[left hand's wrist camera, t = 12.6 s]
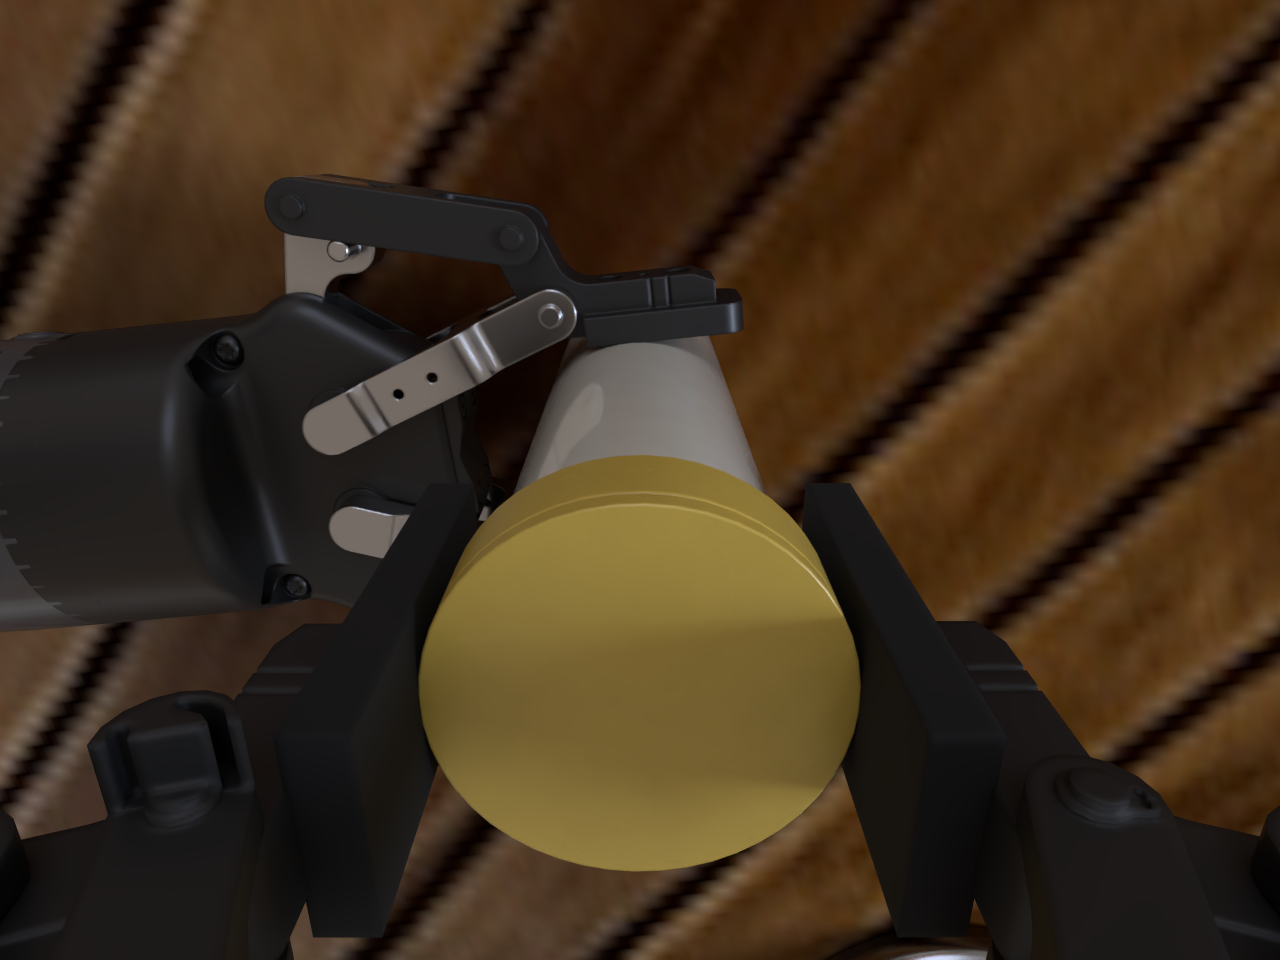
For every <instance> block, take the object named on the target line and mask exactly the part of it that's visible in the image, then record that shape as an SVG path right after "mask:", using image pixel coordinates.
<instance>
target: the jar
mask: <svg viewBox="0 0 1280 960" xmlns="http://www.w3.org/2000/svg"><path fill="white" fill-rule="evenodd" d="M628 455H652V456H664V457H674V458H678V459H683V460H688V461H693V462H698V463H701V464H704V465H707V466H710V467H713V468H715V469H718V470H721V471H724V472H726V473H728V474H730V475H732V476H734V477H736V478H738V479H740V480H742V481H744V482H747V483H749V484H750V485H751V486H753V487H754V488H756V489H757V490H759V491H760V492H762V493H763V494H765V495H766V492H765V489H764V487H763V484H762V481H761V478H760V476H759V473H758V470H757V467H756V465H755V462H754V459H753V456H752V453H751V451H750V448H749V445H748V442H747V440H746V437H745V434H744V431H743V429H742V426H741V423H740V420H739V418H738V415H737V412H736V409H735V406H734V404H733V401H732V398H731V395H730V393H729V390H728V387H727V384H726V382H725V379H724V376H723V373H722V371H721V368H720V365H719V362H718V359H717V357H716V354H715V351H714V348H713V346H712V343H711V340H710V338H709V336H700V337H690V338H680V339H671V340H661V341H651V342H641V343H627V344H619V345H612V346H602V347H593V348H587V346H586V338H585V337H580V338H570V339H569V342H568V345H567V347H566V350H565V353H564V356H563V358H562V361H561V364H560V367H559V369H558V372H557V375H556V378H555V380H554V383H553V386H552V389H551V391H550V394H549V397H548V400H547V402H546V405H545V408H544V411H543V413H542V416H541V419H540V422H539V424H538V427H537V430H536V433H535V435H534V438H533V441H532V444H531V446H530V449H529V452H528V455H527V457H526V460H525V463H524V466H523V468H522V471H521V474H520V477H519V479H518V482H517V485H516V488H515V490H514V493H513V495H514V494H515V493H517V492H518V491H520V490H522V489H523V488H525V487H526V486H528V485H530V484H531V483H533V482H535V481H536V480H538V479H540V478H542V477H544V476H547V475H549V474H551V473H554V472H556V471H558V470H560V469H563V468H566V467H569V466H572V465H576V464H579V463H583V462H586V461H589V460H595V459H601V458H607V457H613V456H628ZM766 496H767V495H766Z"/></svg>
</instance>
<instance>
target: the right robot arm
mask: <svg viewBox="0 0 1280 960" xmlns="http://www.w3.org/2000/svg"><path fill="white" fill-rule="evenodd" d="M265 210H266V213H267V216H268V217H269V219H270V221H271V222H272V224H273V225H274V226H275V227H276V228H278V229H279V230H280V231H282V232H284V242H285V295H282V296H279V297H277V298H275V299H274V300H272V301H271V302H270V303H269V304H267V305H266V306H265V307H264V308H262V309H261V310H260V311H258V312H257V313H253V314H249V315H241V316H232V317H222V318H213V319H203V320H193V321H184V322H174V323H165V324H155V325H146V326H136V327H127V328H117V329H108V330H98V331H88V332H79V333H69V334H65V333H64V332H35V333H25V334H20V335H18V336H17V337H14V338H11V340H2V341H0V632H6V631H26V630H39V629H50V628H62V627H73V626H84V625H95V624H106V623H117V622H128V621H140V620H150V619H162V618H173V617H184V616H195V615H206V614H217V613H228V612H239V611H250V610H259V609H265V608H270V607H274V606H278V605H282V604H286V603H291V602H295V601H299V600H304V599H320V600H326V601H330V602H334V603H337V604H340V605H343V606H345V607H348V608H351V609H352V608H353V606H354V604H355V603H356V601H357V599H358V598H359V596H360V595H361V593H362V591H363V590H364V588H365V587H366V585H367V583H368V582H369V580H370V579H371V577H372V575H373V574H374V572H375V570H376V569H377V567H378V566H379V564H380V562H381V561H382V559H383V558H384V556H385V554H386V553H387V551H388V550H389V548H390V546H391V545H392V543H393V541H394V540H395V538H396V537H397V535H398V533H399V532H400V530H401V529H402V527H403V525H404V524H405V522H406V521H407V519H408V517H409V516H410V514H411V512H412V511H413V509H414V508H415V506H416V504H417V503H418V501H419V500H420V498H421V496H422V495H423V493H424V492H425V490H426V488H427V487H428V485H429V484H430V483H474V491H475V504H476V516H477V528H478V529H479V527H480V526H481V525H482V524H483V523H484V522H485V521H486V519H487V518H488V517H489V516H490V515H491V514H492V513H493V512H494V511H495V510H496V509H497V508H498V507H499V506H500V505H502V504H503V503H504V502H505V501H507V500H508V499H509V498H510V497H512V496H513V493H514V490H515V488H516V485H517V482H513V481H509V480H505V479H500V478H496V477H492V476H491V472H490V467H489V461H488V457H487V455H486V453H485V451H484V448H483V446H482V444H481V442H480V440H479V438H478V436H477V434H476V431H475V425H476V414H477V403H478V401H477V395H476V390H475V386H477V385H479V384H480V383H482V382H484V381H486V380H487V379H489V378H490V377H492V376H493V375H494V374H496V373H497V372H499V371H500V370H502V369H504V368H506V367H508V366H510V365H512V364H514V363H516V362H518V361H520V360H522V359H524V358H526V357H528V356H530V355H532V354H535V353H537V352H539V351H541V350H543V349H545V348H547V347H549V346H551V345H553V344H555V343H557V342H559V341H561V340H563V339H570V338H580V337H585V338H586V346H587V348H593V347H602V346H612V345H619V344H627V343H641V342H651V341H661V340H671V339H680V338H690V337H700V336H710V335H719V334H728V333H734V332H738V331H741V330H742V329H744V324H743V306H742V298H741V296H740V295H739V293H738V292H737V290H736V289H730V288H720V289H716V285H715V279H714V277H713V275H712V273H711V272H710V271H707V270H704V269H700V268H697V267H693V266H690V265H688V266H678V267H669V268H659V269H651V270H640V271H631V272H622V273H612V274H603V275H585V274H581V273H579V272H577V271H575V270H573V269H572V268H571V267H570V266H569V265H568V264H567V263H566V262H565V261H564V259H563V257H562V255H561V253H560V251H559V249H558V248H557V246H556V244H555V242H554V240H553V238H552V236H551V234H550V232H549V222H548V219H547V217H546V215H545V214H544V213H543V211H542V210H541V209H539V208H538V207H537V206H535V205H532V204H529V203H523V202H516V201H510V200H503V199H496V198H489V197H482V196H475V195H469V194H462V193H455V192H448V191H441V190H435V189H428V188H421V187H414V186H407V185H400V184H394V183H387V182H380V181H373V180H366V179H360V178H353V177H346V176H339V175H332V174H322V175H307V176H297V177H289V178H282V179H279V180H277V181H275V182H274V183H272V184H271V186H270V187H269V188H268V190H267V192H266V195H265ZM386 249H392V250H399V251H406V252H413V253H420V254H427V255H434V256H441V257H448V258H455V259H462V260H469V261H476V262H483V263H490V264H497V265H499V266H500V268H501V270H502V272H503V274H504V276H505V278H506V280H507V281H508V283H509V285H510V287H511V289H512V291H513V293H514V294H513V295H511V296H509V297H507V298H505V299H503V300H501V301H499V302H497V303H495V304H493V305H491V306H487V307H484V308H482V309H480V310H478V311H476V312H474V313H472V314H470V315H468V316H466V317H464V318H462V319H460V320H458V321H456V322H454V323H452V324H450V325H448V326H446V327H444V328H442V329H440V330H438V331H436V332H434V333H432V334H430V335H428V336H426V337H424V338H423V337H421V336H419V335H417V334H416V333H414V332H412V331H410V330H408V329H406V328H405V327H403V326H401V325H399V324H397V323H395V322H394V321H392V320H390V319H388V318H386V317H384V316H383V315H381V314H379V313H377V312H375V311H373V310H371V309H370V308H368V307H366V306H364V305H362V304H360V303H359V302H357V301H355V300H353V299H351V298H349V297H348V296H346V295H344V294H342V293H340V292H338V291H337V289H338V284H339V281H340V279H341V278H342V276H343V275H344V274H355V273H360V272H362V271H364V270H367V269H369V268H371V267H373V266H375V265H377V264H378V263H379V262H380V261H381V260H382V258H383V256H384V254H385V250H386ZM488 499H489V500H488Z"/></svg>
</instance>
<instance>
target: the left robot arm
mask: <svg viewBox="0 0 1280 960" xmlns="http://www.w3.org/2000/svg"><path fill="white" fill-rule="evenodd" d="M477 530H478V528H477V516H476V504H475V491H474V483H430V484H429V485H428V487H427V488H426V490H425V492H424V493H423V495H422V496H421V498H420V500H419V501H418V503H417V504H416V506H415V508H414V509H413V511H412V512H411V514H410V516H409V517H408V519H407V521H406V522H405V524H404V525H403V527H402V529H401V530H400V532H399V533H398V535H397V537H396V538H395V540H394V541H393V543H392V545H391V546H390V548H389V550H388V551H387V553H386V554H385V556H384V558H383V559H382V561H381V562H380V564H379V566H378V567H377V569H376V570H375V572H374V574H373V575H372V577H371V579H370V580H369V582H368V583H367V585H366V587H365V588H364V590H363V591H362V593H361V595H360V596H359V598H358V599H357V601H356V603H355V604H354V606H353V608H352V609H351V611H350V612H349V614H348V616H347V617H346V619H345V620H344V622H343V624H304V625H302V626H301V627H299V628H298V629H296V630H295V631H294V632H292V633H291V634H289V635H288V636H286V637H285V638H283V639H282V640H281V641H279V642H278V643H276V644H275V645H274V646H273V648H272V649H271V650H270V652H269V653H268V654H267V656H266V657H265V659H264V660H263V661H262V663H261V664H260V665H259V667H258V668H257V673H254V674H253V675H252V676H251V678H250V679H249V680H248V682H247V683H246V685H245V686H244V687H243V692H242V694H238V695H237V697H236V698H235V700H234V701H233V700H232V699H231V698H230V697H228V696H227V695H225V694H220V693H216V692H211V691H207V690H202V691H183V692H176V693H173V694H169V695H165V696H161V697H157V698H153V699H150V700H148V701H145V702H143V703H141V704H139V705H136V706H134V707H132V708H130V709H128V710H125V711H123V712H122V713H120V714H119V715H118V716H116V717H115V718H113V719H112V720H111V721H109V722H108V723H106V724H105V725H104V726H102V727H101V728H100V729H99V731H98V732H97V733H96V734H95V736H94V737H93V738H92V739H91V741H90V742H89V743H88V745H87V747H88V751H89V754H90V757H91V760H92V764H93V767H94V770H95V773H96V777H97V780H98V783H99V786H100V790H101V793H102V796H103V799H104V802H105V806H106V809H107V812H108V815H107V818H106V820H102V821H99V822H95V823H92V824H89V825H84V826H80V827H76V828H71V829H67V830H62V831H58V832H53V833H49V834H45V835H40V836H36V837H31V838H27V839H22V840H21V838H20V836H19V833H18V830H17V827H16V825H15V822H14V819H13V818H12V817H11V816H9V815H8V814H7V813H6V812H4V811H3V810H2V809H0V960H294V958H293V952H292V947H291V942H290V936H291V934H292V931H293V929H294V927H295V925H296V922H297V920H298V918H299V915H300V913H301V911H302V909H303V906H304V904H305V902H306V904H307V909H308V914H309V919H310V923H311V928H312V933H313V937H382V936H383V933H384V930H385V927H386V924H387V921H388V918H389V915H390V912H391V908H392V905H393V902H394V899H395V896H396V893H397V890H398V887H399V884H400V881H401V878H402V875H403V872H404V868H405V865H406V862H407V859H408V856H409V853H410V850H411V847H412V844H413V841H414V838H415V835H416V832H417V828H418V825H419V822H420V819H421V816H422V813H423V810H424V807H425V804H426V801H427V798H428V795H429V792H430V788H431V785H432V782H433V779H434V776H435V773H436V770H437V767H438V762H437V760H436V758H435V756H434V754H433V752H432V750H431V748H430V745H429V742H428V739H427V736H426V733H425V730H424V727H423V723H422V716H421V708H420V700H419V687H418V674H419V667H420V660H421V654H422V649H423V646H424V643H425V640H426V637H427V634H428V630H429V627H430V625H431V623H432V620H433V618H434V616H435V614H436V611H437V609H438V607H439V604H440V602H441V600H442V598H443V595H444V593H445V591H446V588H447V586H448V584H449V582H450V579H451V577H452V575H453V572H454V570H455V568H456V566H457V564H458V562H459V560H460V558H461V556H462V554H463V552H464V550H465V548H466V546H467V544H468V543H469V541H470V540H471V539H472V537H473V536H474V534H475V533H476V531H477ZM802 531H803V532H804V533H805V535H806V537H807V538H808V540H809V541H810V543H811V545H812V546H813V548H814V549H815V551H816V553H817V554H818V557H819V559H820V561H821V564H822V566H823V568H824V571H825V573H826V575H827V578H828V580H829V582H830V584H831V587H832V589H833V591H834V594H835V596H836V598H837V601H838V603H839V605H840V608H841V610H842V612H843V615H844V617H845V619H846V622H847V624H848V626H849V628H850V631H851V633H852V635H853V639H854V643H855V647H856V651H857V655H858V658H859V666H860V677H861V693H860V705H859V713H858V718H857V722H856V727H855V731H854V734H853V737H852V740H851V742H850V745H849V747H848V750H847V752H846V755H845V757H844V759H843V760H842V762H841V765H842V768H843V771H844V774H845V777H846V780H847V783H848V786H849V789H850V792H851V795H852V798H853V802H854V805H855V808H856V811H857V814H858V817H859V820H860V823H861V826H862V829H863V832H864V835H865V838H866V842H867V845H868V848H869V851H870V854H871V857H872V860H873V863H874V866H875V869H876V872H877V875H878V878H879V882H880V885H881V888H882V891H883V894H884V897H885V900H886V903H887V906H888V909H889V912H890V915H891V918H892V922H893V925H894V928H895V931H896V933H893V934H889V935H886V936H882V937H878V938H875V939H873V940H870V941H867V942H864V943H861V944H859V945H857V946H855V947H852V948H850V949H848V950H846V951H844V952H842V953H840V954H838V955H836V956H834V957H833V958H831V959H829V960H1280V806H1278V807H1277V808H1276V809H1275V810H1273V811H1272V812H1271V813H1269V814H1268V815H1267V818H1266V821H1265V823H1264V826H1263V829H1262V832H1261V834H1260V836H1256V835H1251V834H1247V833H1242V832H1238V831H1233V830H1229V829H1224V828H1220V827H1215V826H1211V825H1207V824H1202V823H1198V822H1193V821H1190V820H1186V819H1183V818H1179V817H1176V816H1173V814H1172V812H1171V811H1170V809H1169V808H1168V806H1167V805H1166V803H1165V802H1164V800H1163V799H1162V797H1161V796H1160V794H1159V793H1158V792H1156V791H1155V790H1154V789H1153V788H1151V787H1150V786H1149V785H1148V784H1146V783H1145V782H1144V781H1143V780H1142V779H1140V778H1139V777H1138V776H1136V775H1134V774H1132V773H1130V772H1128V771H1126V770H1124V769H1122V768H1120V767H1118V766H1116V765H1114V764H1112V763H1109V762H1106V761H1102V760H1099V759H1095V758H1091V757H1090V756H1089V755H1088V753H1087V752H1086V751H1085V749H1084V748H1083V747H1082V745H1081V744H1080V743H1079V741H1078V740H1077V738H1076V737H1075V736H1074V734H1073V733H1072V732H1071V730H1070V729H1069V728H1068V726H1067V725H1066V723H1065V722H1064V721H1063V719H1062V718H1061V717H1060V715H1059V714H1058V713H1057V711H1056V710H1055V709H1054V707H1053V706H1052V704H1051V703H1050V702H1049V700H1048V699H1047V698H1046V696H1045V695H1044V694H1043V692H1042V691H1038V685H1037V684H1036V683H1035V681H1034V680H1033V679H1032V677H1031V676H1030V675H1029V673H1028V672H1027V671H1024V670H1023V665H1022V664H1021V662H1020V661H1019V660H1018V658H1017V657H1016V655H1015V654H1014V653H1013V651H1012V650H1011V649H1010V647H1009V646H1008V645H1007V643H1006V642H1005V641H1004V640H1002V639H1001V638H999V637H998V636H996V635H995V634H993V633H992V632H990V631H989V630H988V629H986V628H985V627H983V626H982V625H980V624H979V623H977V622H976V621H935V619H934V618H933V616H932V614H931V613H930V611H929V610H928V608H927V606H926V605H925V603H924V602H923V600H922V598H921V597H920V595H919V593H918V592H917V590H916V589H915V587H914V585H913V584H912V582H911V581H910V579H909V577H908V576H907V574H906V573H905V571H904V569H903V568H902V566H901V564H900V563H899V561H898V560H897V558H896V556H895V555H894V553H893V552H892V550H891V548H890V547H889V545H888V544H887V542H886V540H885V539H884V537H883V535H882V534H881V532H880V531H879V529H878V527H877V526H876V524H875V523H874V521H873V519H872V518H871V516H870V515H869V513H868V511H867V510H866V508H865V506H864V505H863V503H862V502H861V500H860V498H859V497H858V495H857V494H856V492H855V490H854V489H853V487H852V485H851V484H850V483H806V488H805V501H804V513H803V525H802ZM974 898H975V901H976V903H977V905H978V907H979V910H980V912H981V914H982V916H983V919H984V921H985V923H986V925H987V928H988V929H986V928H978V927H969V922H970V917H971V912H972V907H973V902H974Z"/></svg>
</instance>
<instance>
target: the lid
mask: <svg viewBox="0 0 1280 960" xmlns="http://www.w3.org/2000/svg"><path fill="white" fill-rule="evenodd" d="M418 687H419V700H420V708H421V716H422V723H423V727H424V730H425V733H426V736H427V739H428V742H429V745H430V748H431V750H432V752H433V754H434V756H435V758H436V760H437V762H438V764H439V766H440V768H441V770H442V771H443V772H444V774H445V775H446V777H447V778H448V780H449V781H450V783H451V784H452V785H453V787H454V788H455V790H456V791H457V792H458V793H459V794H460V795H461V796H462V797H463V798H464V800H465V801H466V802H467V803H468V804H469V805H470V806H471V807H472V808H473V809H474V810H475V811H476V812H478V813H479V814H480V815H481V816H482V817H483V818H485V819H486V820H487V821H488V822H489V823H490V824H492V825H493V826H495V827H496V828H498V829H499V830H501V831H502V832H504V833H505V834H507V835H508V836H510V837H511V838H513V839H515V840H517V841H519V842H521V843H523V844H525V845H527V846H529V847H531V848H533V849H535V850H537V851H540V852H542V853H545V854H548V855H550V856H553V857H555V858H558V859H562V860H565V861H569V862H573V863H576V864H580V865H584V866H590V867H596V868H602V869H608V870H621V871H662V870H670V869H677V868H685V867H690V866H694V865H699V864H703V863H707V862H712V861H715V860H718V859H720V858H723V857H726V856H729V855H732V854H735V853H738V852H740V851H742V850H744V849H746V848H748V847H750V846H752V845H755V844H757V843H759V842H761V841H762V840H764V839H766V838H767V837H769V836H771V835H772V834H774V833H775V832H777V831H779V830H780V829H782V828H783V827H784V826H786V825H787V824H788V823H790V822H791V821H792V820H793V819H795V818H796V817H797V816H798V815H800V814H801V813H802V812H803V811H804V810H805V809H806V808H807V807H808V806H809V805H810V804H811V803H812V802H813V801H814V800H815V799H816V798H817V797H818V796H819V795H820V793H821V792H822V791H823V789H824V788H825V787H826V785H827V784H828V783H829V782H830V780H831V779H832V778H833V776H834V774H835V773H836V771H837V769H838V767H839V766H840V764H841V762H842V760H843V759H844V757H845V755H846V752H847V750H848V747H849V745H850V742H851V740H852V737H853V734H854V731H855V727H856V722H857V718H858V713H859V705H860V693H861V677H860V666H859V658H858V655H857V651H856V647H855V643H854V639H853V635H852V633H851V631H850V628H849V626H848V624H847V622H846V619H845V617H844V615H843V612H842V610H841V608H840V605H839V603H838V601H837V598H836V596H835V594H834V591H833V589H832V587H831V584H830V582H829V580H828V578H827V575H826V573H825V571H824V568H823V566H822V564H821V561H820V559H819V557H818V554H817V553H816V551H815V549H814V548H813V546H812V545H811V543H810V541H809V540H808V538H807V537H806V535H805V533H804V532H803V531H802V530H801V529H800V527H799V526H798V525H797V524H796V523H795V521H794V520H793V519H792V518H791V517H790V516H789V514H787V513H786V512H785V511H784V510H783V509H782V508H781V507H780V506H778V505H777V504H776V503H775V502H774V501H773V500H772V499H771V498H769V497H768V496H766V495H765V494H763V493H762V492H760V491H759V490H757V489H756V488H754V487H753V486H751V485H750V484H749V483H747V482H744V481H742V480H740V479H738V478H736V477H734V476H732V475H730V474H728V473H726V472H724V471H721V470H718V469H715V468H713V467H710V466H707V465H704V464H701V463H698V462H693V461H688V460H683V459H678V458H674V457H664V456H652V455H628V456H613V457H607V458H601V459H595V460H589V461H586V462H583V463H579V464H576V465H572V466H569V467H566V468H563V469H560V470H558V471H556V472H554V473H551V474H549V475H547V476H544V477H542V478H540V479H538V480H536V481H535V482H533V483H531V484H530V485H528V486H526V487H525V488H523V489H522V490H520V491H518V492H517V493H515V494H514V495H513V496H512V497H510V498H509V499H508V500H507V501H505V502H504V503H503V504H502V505H500V506H499V507H498V508H497V509H496V510H495V511H494V512H493V513H492V514H491V515H490V516H489V517H488V518H487V519H486V521H485V522H484V523H483V524H482V525H481V526H480V527H479V529H478V530H477V531H476V533H475V534H474V536H473V537H472V539H471V540H470V541H469V543H468V544H467V546H466V548H465V550H464V552H463V554H462V556H461V558H460V560H459V562H458V564H457V566H456V568H455V570H454V572H453V575H452V577H451V579H450V582H449V584H448V586H447V588H446V591H445V593H444V595H443V598H442V600H441V602H440V604H439V607H438V609H437V611H436V614H435V616H434V618H433V620H432V623H431V625H430V627H429V630H428V634H427V637H426V640H425V643H424V646H423V649H422V654H421V660H420V667H419V674H418Z"/></svg>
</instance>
